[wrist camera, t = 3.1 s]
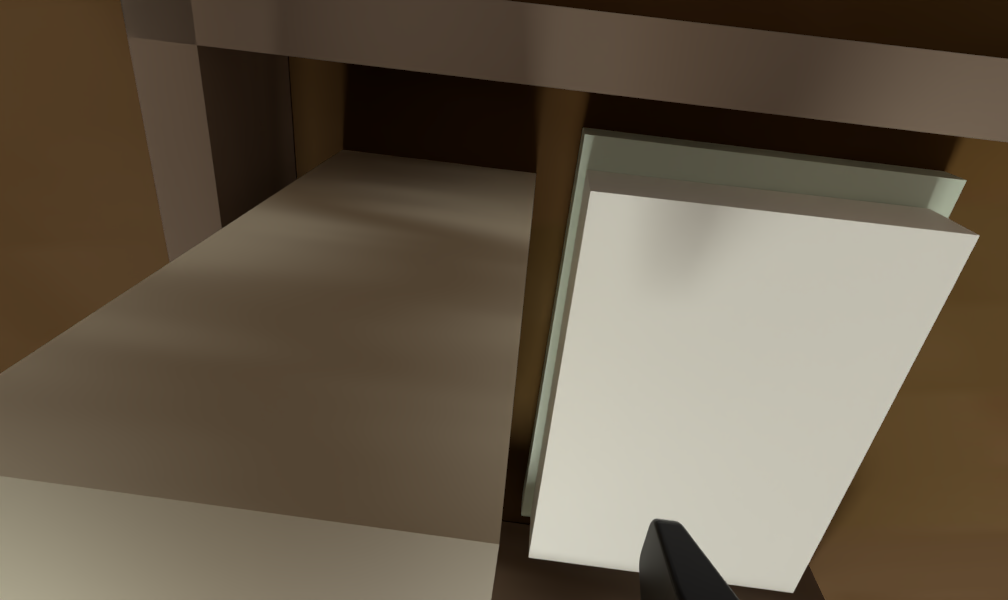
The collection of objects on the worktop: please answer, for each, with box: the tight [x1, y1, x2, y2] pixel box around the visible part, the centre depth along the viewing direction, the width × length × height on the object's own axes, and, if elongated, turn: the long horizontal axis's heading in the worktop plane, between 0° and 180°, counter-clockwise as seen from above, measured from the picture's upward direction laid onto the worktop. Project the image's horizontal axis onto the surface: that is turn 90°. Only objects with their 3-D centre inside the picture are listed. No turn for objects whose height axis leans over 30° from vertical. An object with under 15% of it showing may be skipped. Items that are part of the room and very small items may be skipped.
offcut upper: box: [528, 170, 980, 593], centre depth 12 cm, size 6×9×1 cm
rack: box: [121, 0, 1008, 600], centre depth 12 cm, size 15×14×3 cm
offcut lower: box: [521, 127, 967, 517], centre depth 13 cm, size 7×10×1 cm
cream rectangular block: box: [0, 150, 536, 600], centre depth 9 cm, size 4×8×9 cm, turn 174°
